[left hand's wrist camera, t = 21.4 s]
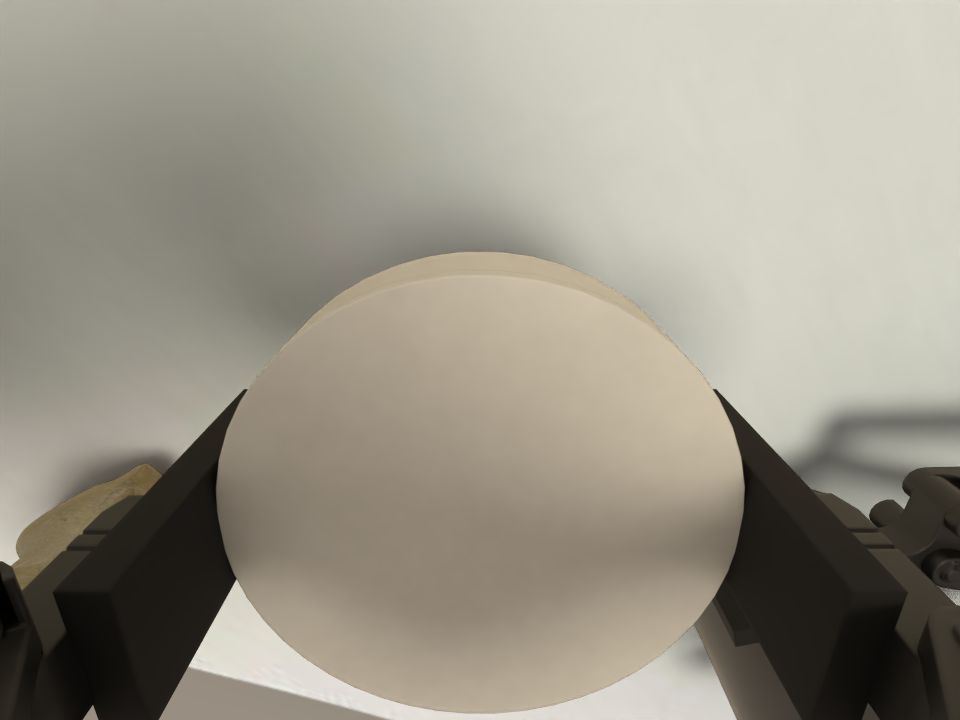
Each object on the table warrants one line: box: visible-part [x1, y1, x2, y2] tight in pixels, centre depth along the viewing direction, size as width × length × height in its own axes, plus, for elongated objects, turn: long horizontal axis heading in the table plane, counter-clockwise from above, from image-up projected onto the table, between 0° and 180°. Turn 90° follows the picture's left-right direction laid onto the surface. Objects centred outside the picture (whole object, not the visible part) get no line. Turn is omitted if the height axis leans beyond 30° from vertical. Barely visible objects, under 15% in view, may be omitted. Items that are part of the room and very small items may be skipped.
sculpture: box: [11, 463, 162, 591], centre depth 19 cm, size 6×7×15 cm
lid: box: [216, 252, 745, 713], centre depth 12 cm, size 10×10×2 cm
